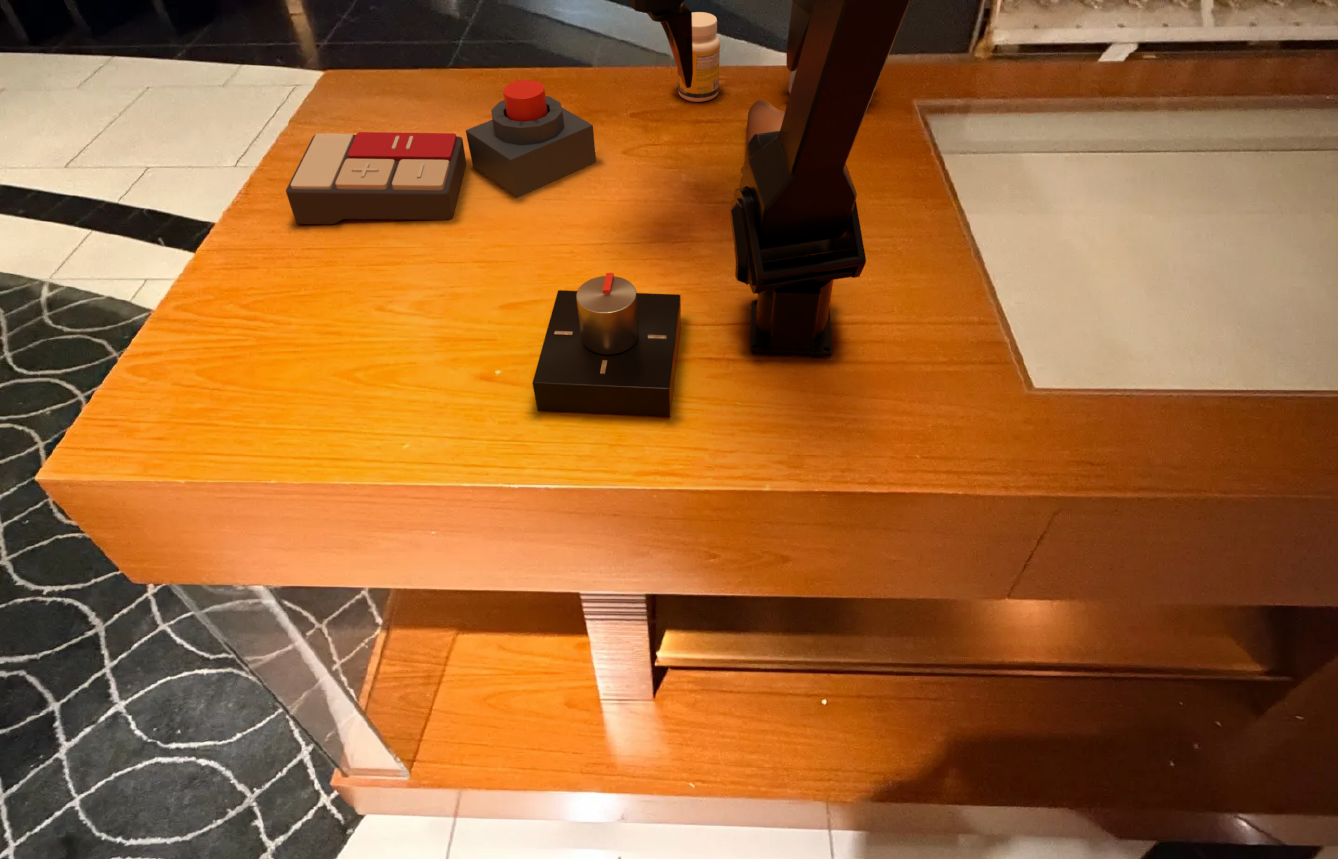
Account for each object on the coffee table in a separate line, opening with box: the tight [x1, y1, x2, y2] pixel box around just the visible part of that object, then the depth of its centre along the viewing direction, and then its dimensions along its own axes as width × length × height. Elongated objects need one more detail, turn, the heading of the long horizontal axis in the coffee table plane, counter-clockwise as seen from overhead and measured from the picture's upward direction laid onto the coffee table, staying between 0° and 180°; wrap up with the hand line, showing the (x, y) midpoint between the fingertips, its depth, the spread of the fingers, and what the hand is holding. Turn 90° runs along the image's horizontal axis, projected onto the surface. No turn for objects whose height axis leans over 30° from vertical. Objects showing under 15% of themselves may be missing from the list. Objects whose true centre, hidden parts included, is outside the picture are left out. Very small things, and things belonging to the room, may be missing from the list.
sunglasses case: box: [745, 99, 785, 155], centre depth 86 cm, size 18×7×7 cm
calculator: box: [285, 131, 467, 225], centre depth 84 cm, size 11×4×15 cm
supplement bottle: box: [677, 11, 721, 103], centre depth 96 cm, size 5×5×8 cm
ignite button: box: [502, 79, 547, 122], centre depth 84 cm, size 4×4×3 cm
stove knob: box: [576, 272, 639, 355], centre depth 64 cm, size 4×4×4 cm
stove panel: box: [532, 289, 682, 418], centre depth 67 cm, size 11×10×3 cm
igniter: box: [465, 95, 597, 199], centre depth 87 cm, size 8×10×6 cm
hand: (739, 77), depth 71 cm, fingers open, 9 cm apart
